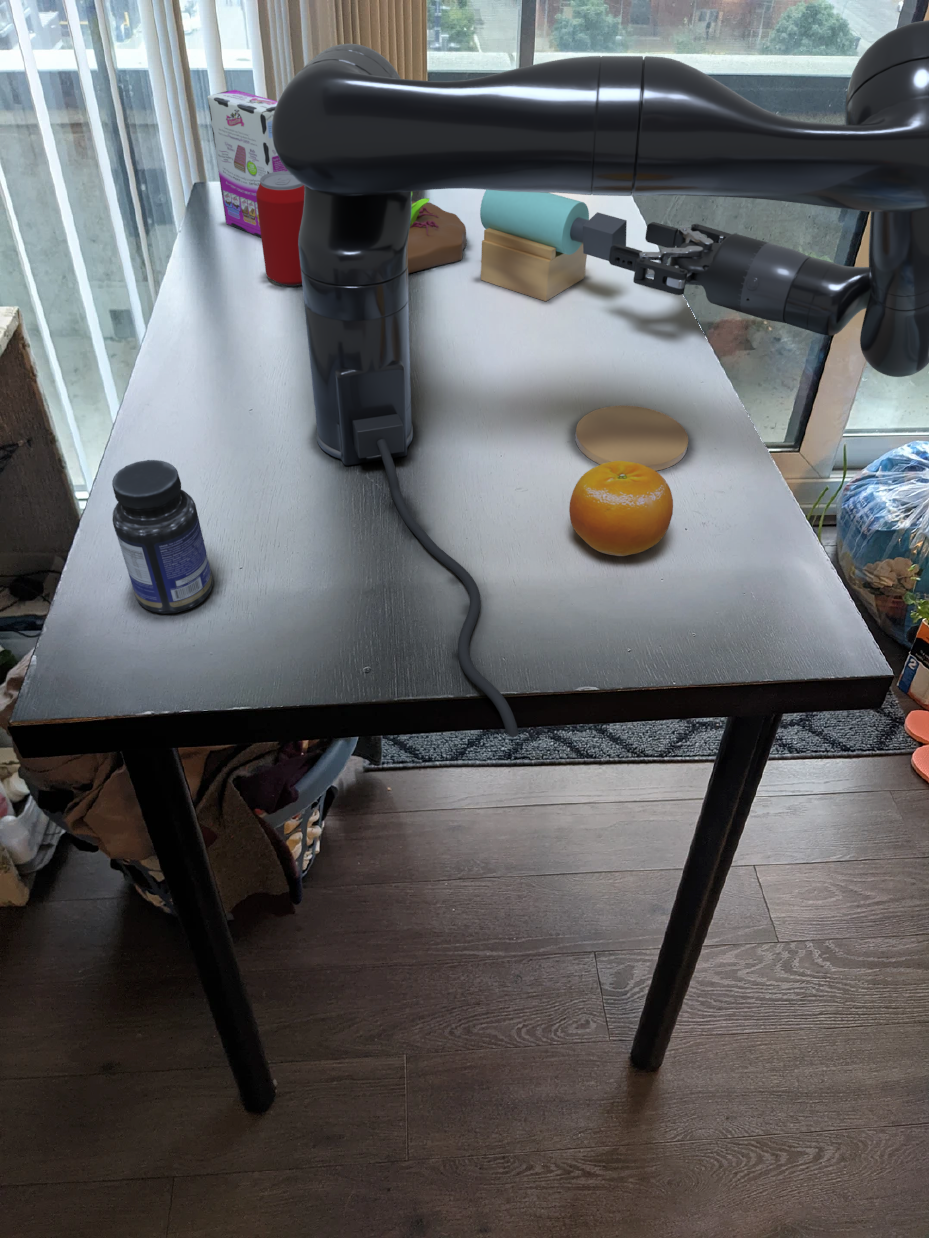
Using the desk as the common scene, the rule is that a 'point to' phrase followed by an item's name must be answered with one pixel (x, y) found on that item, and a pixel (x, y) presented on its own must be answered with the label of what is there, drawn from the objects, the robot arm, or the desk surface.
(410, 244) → the plant
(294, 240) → the beverage can
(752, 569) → the desk surface
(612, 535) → the fruit
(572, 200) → the teal cylinder
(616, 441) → the coaster
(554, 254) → the cradle
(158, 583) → the pill bottle
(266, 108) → the candy bar box
